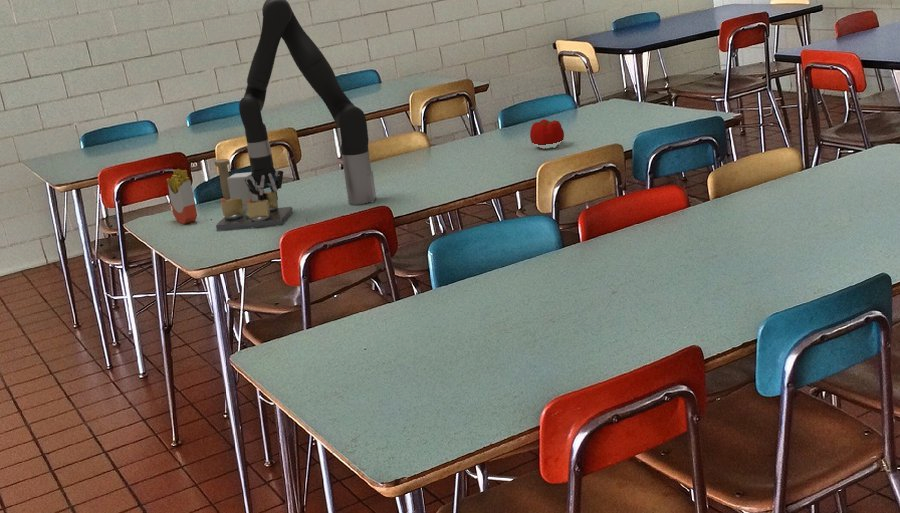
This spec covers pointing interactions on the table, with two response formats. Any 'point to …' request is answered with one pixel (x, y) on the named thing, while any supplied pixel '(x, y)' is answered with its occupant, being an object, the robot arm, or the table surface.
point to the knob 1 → (232, 208)
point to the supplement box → (241, 188)
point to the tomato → (546, 132)
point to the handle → (223, 176)
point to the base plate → (245, 222)
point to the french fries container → (182, 197)
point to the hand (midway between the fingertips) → (268, 203)
